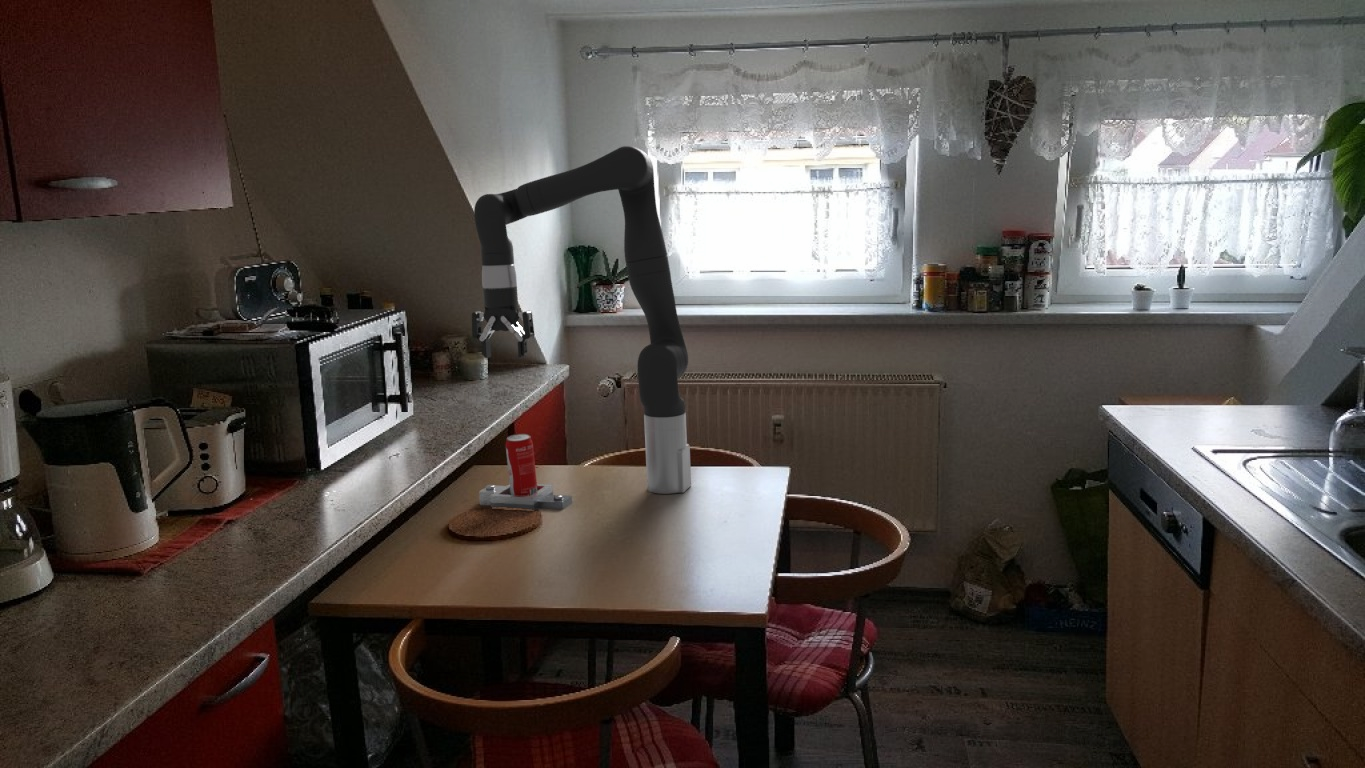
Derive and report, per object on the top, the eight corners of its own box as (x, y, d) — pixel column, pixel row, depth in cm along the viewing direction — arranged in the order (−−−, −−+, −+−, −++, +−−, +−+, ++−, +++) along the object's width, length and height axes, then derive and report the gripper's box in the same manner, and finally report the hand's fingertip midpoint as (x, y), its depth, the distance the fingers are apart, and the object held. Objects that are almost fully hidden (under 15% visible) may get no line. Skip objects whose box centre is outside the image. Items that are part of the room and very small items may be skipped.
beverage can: (541, 498, 214) (536, 432, 212) (534, 507, 208) (529, 439, 205) (514, 499, 215) (510, 432, 212) (506, 507, 208) (501, 439, 206)
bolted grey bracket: (576, 499, 213) (575, 483, 212) (558, 513, 204) (557, 496, 203) (495, 495, 219) (494, 479, 218) (474, 508, 209) (473, 492, 208)
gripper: (536, 283, 218) (540, 355, 221) (479, 284, 222) (484, 354, 225) (521, 286, 211) (526, 360, 214) (462, 287, 215) (468, 359, 218)
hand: (504, 357), depth 220 cm, fingers open, 8 cm apart
